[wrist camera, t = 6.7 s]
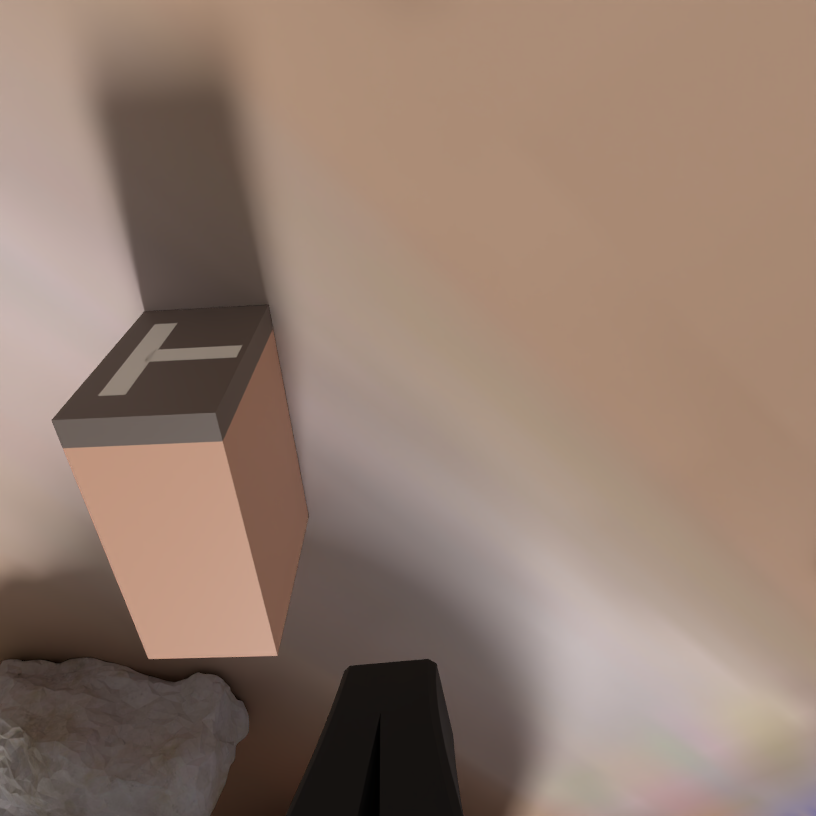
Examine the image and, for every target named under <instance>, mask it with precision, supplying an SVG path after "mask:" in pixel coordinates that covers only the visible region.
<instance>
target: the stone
mask: <svg viewBox="0 0 816 816" xmlns="http://www.w3.org/2000/svg"><path fill="white" fill-rule="evenodd" d="M248 733H249V715H248V712H247V710H246V708H245V706H244V703H243V701H240V700H236V698H235V696H234V695H233V693H232V692H231V690H230V687H229V686H228V685H227V684H226V683H225V682H224V680H223V679H221V678H220V677H218V676H217V675H213V674H202V673H199V672H197V673H195V674H193V675H191V676H190V677H189V678H188V679H183V680H181V681H177V682H171V681H164V680H161V679H159V678H155V677H151V676H148V675H144V674H141V673H138V672H136V671H134V670H132V669H131V668H129V667H127V666H122V665H119V664H115V663H109V662H104V661H102V660H98V659H95V658H86V657H84V658H75V659H69V660H67V661H65V662H62V663H53V662H49V661H45V660H30V661H21V660H18V659H9V660H4V661H2V663H1V664H0V816H211V813H212V811H213V810H214V808H215V806H216V803H217V801H218V798H219V796H220V794H221V792H222V790H223V788H224V786H225V783H226V780H227V776H228V772H229V768H230V765H231V764H232V763H233V762H234V760H235V752H236V745H237V743H239V742H240V741H241V740H243V739H244V738H245V737H246V735H247V734H248Z"/></svg>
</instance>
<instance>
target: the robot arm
mask: <svg viewBox="0 0 816 816" xmlns="http://www.w3.org/2000/svg"><path fill="white" fill-rule="evenodd" d="M286 816H463V810H462V805H461V799H460V793H459V786H458V778H457V771H456V763H455V753H454V741H453V733H452V729H451V724H450V720H449V716H448V711H447V707H446V703H445V699H444V694H443V690H442V686H441V681H440V677H439V673H438V668H437V664H436V663H434V662H433V661H431V660H429V659H423V660H411V661H400V662H389V663H377V664H366V665H355V666H349V667H348V668H347V669H346V670H345V671H344V674H343V677H342V680H341V683H340V686H339V689H338V691H337V694H336V697H335V700H334V702H333V705H332V708H331V711H330V713H329V716H328V718H327V721H326V724H325V726H324V729H323V731H322V734H321V736H320V738H319V741H318V743H317V746H316V748H315V751H314V753H313V755H312V758H311V760H310V762H309V765H308V767H307V769H306V771H305V774H304V776H303V778H302V780H301V782H300V785H299V787H298V789H297V791H296V794H295V796H294V798H293V800H292V802H291V805H290V807H289V809H288V811H287V813H286Z"/></svg>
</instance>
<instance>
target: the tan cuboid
mask: <svg viewBox="0 0 816 816" xmlns="http://www.w3.org/2000/svg"><path fill="white" fill-rule="evenodd" d="M52 423H53V425H54V428H55V430H56V432H57V435H58V437H59V440H60V442H61V445H62V447H63V450H64V452H65V455H66V457H67V460H68V462H69V465H70V467H71V469H72V472H73V474H74V477H75V479H76V482H77V484H78V487H79V489H80V492H81V494H82V497H83V499H84V501H85V504H86V506H87V509H88V511H89V514H90V516H91V519H92V521H93V524H94V526H95V529H96V531H97V533H98V536H99V538H100V541H101V543H102V546H103V548H104V551H105V553H106V556H107V558H108V561H109V563H110V565H111V568H112V570H113V573H114V575H115V578H116V580H117V583H118V585H119V588H120V590H121V593H122V595H123V597H124V600H125V602H126V605H127V607H128V610H129V612H130V615H131V617H132V620H133V622H134V625H135V627H136V629H137V632H138V634H139V637H140V639H141V642H142V644H143V647H144V649H145V652H146V654H147V657H148V659H171V658H211V657H252V656H278V652H279V647H280V643H281V638H282V634H283V629H284V625H285V620H286V616H287V611H288V607H289V602H290V598H291V594H292V589H293V585H294V580H295V576H296V571H297V567H298V562H299V558H300V553H301V549H302V544H303V540H304V535H305V531H306V527H307V522H308V518H309V516H308V511H307V505H306V500H305V495H304V490H303V484H302V479H301V474H300V468H299V463H298V458H297V453H296V447H295V442H294V437H293V432H292V426H291V421H290V416H289V410H288V405H287V400H286V395H285V389H284V384H283V379H282V374H281V368H280V363H279V358H278V352H277V347H276V342H275V337H274V331H273V326H272V321H271V315H270V310H269V305H255V306H237V307H219V308H200V309H182V310H164V311H146V312H144V313H143V314H142V315H141V316H140V317H139V318H138V320H137V321H136V322H135V323H134V324H133V325H132V327H131V328H130V329H129V330H128V331H127V332H126V334H125V335H124V336H123V337H122V338H121V339H120V341H119V342H118V343H117V344H116V345H115V347H114V348H113V349H112V350H111V351H110V352H109V354H108V355H107V356H106V357H105V358H104V359H103V361H102V362H101V363H100V364H99V365H98V366H97V368H96V369H95V370H94V371H93V372H92V373H91V375H90V376H89V377H88V378H87V379H86V380H85V382H84V383H83V384H82V385H81V386H80V387H79V389H78V390H77V391H76V392H75V393H74V394H73V396H72V397H71V398H70V399H69V400H68V401H67V403H66V404H65V405H64V406H63V407H62V409H61V410H60V411H59V412H58V413H57V414H56V416H55V417H54V418H53V419H52Z"/></svg>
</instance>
